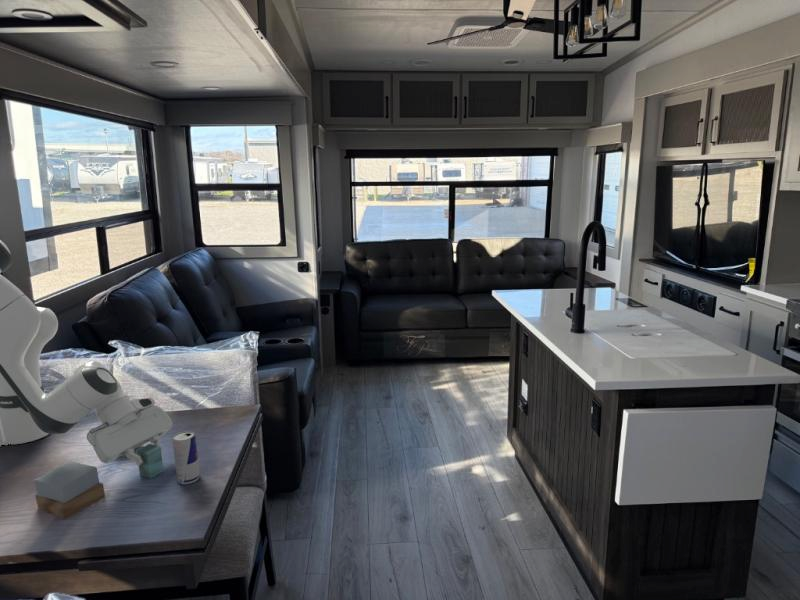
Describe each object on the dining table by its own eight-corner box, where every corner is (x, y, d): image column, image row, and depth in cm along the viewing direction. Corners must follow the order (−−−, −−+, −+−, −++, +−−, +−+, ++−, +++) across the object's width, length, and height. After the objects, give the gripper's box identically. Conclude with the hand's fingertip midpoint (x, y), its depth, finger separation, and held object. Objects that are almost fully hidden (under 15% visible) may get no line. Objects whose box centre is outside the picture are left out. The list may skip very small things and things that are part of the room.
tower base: (38, 510, 131) (35, 494, 131) (78, 488, 140) (76, 473, 139) (65, 521, 127) (62, 505, 126) (105, 498, 136) (103, 483, 135)
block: (139, 475, 145) (136, 450, 143) (152, 467, 148) (149, 443, 147) (150, 478, 143) (147, 453, 141) (163, 471, 146) (160, 446, 145)
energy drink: (204, 477, 143) (199, 433, 141) (187, 487, 139) (182, 442, 136) (190, 471, 146) (185, 429, 143) (172, 481, 142) (167, 437, 139)
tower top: (37, 495, 130) (34, 479, 129) (72, 475, 138) (70, 460, 137) (64, 503, 127) (61, 487, 126) (99, 482, 135) (96, 467, 134)
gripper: (87, 426, 136) (120, 471, 134) (157, 395, 154) (187, 435, 152) (78, 439, 139) (110, 484, 137) (148, 407, 157) (177, 447, 155)
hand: (151, 458), depth 144 cm, fingers closed on block, 4 cm apart
